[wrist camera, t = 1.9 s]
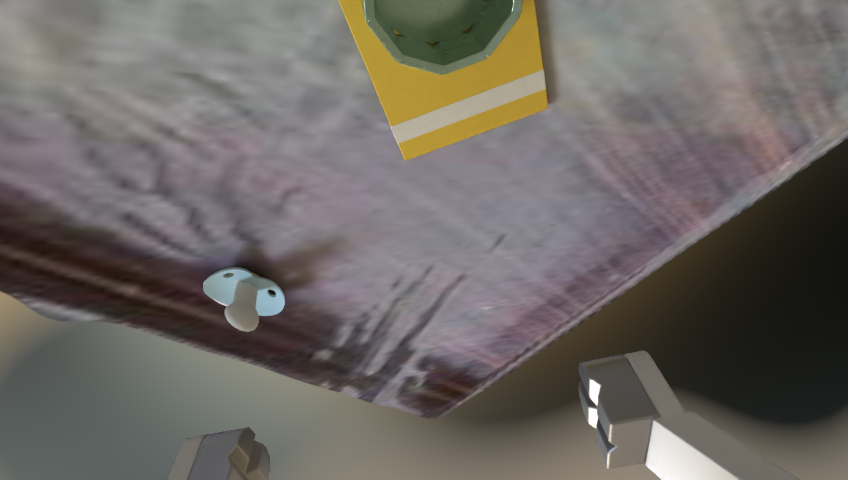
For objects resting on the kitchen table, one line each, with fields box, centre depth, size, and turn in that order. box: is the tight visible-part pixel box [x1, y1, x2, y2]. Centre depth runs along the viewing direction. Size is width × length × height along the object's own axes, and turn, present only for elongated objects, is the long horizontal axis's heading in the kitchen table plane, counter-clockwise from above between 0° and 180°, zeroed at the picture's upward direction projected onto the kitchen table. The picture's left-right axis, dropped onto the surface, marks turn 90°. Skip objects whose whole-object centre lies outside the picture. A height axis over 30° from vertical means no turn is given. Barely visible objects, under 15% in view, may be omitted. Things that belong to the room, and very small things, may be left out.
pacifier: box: [203, 267, 285, 331], centre depth 41 cm, size 7×6×6 cm
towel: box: [339, 0, 548, 161], centre depth 29 cm, size 20×12×1 cm, turn 18°
